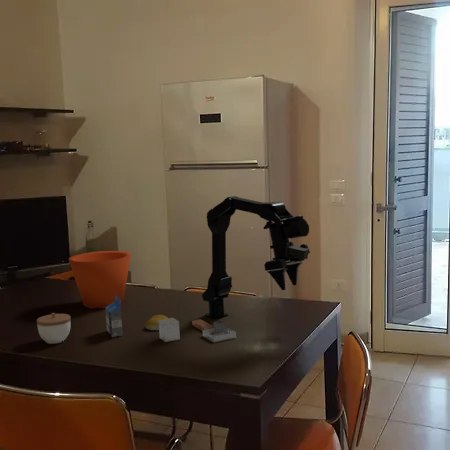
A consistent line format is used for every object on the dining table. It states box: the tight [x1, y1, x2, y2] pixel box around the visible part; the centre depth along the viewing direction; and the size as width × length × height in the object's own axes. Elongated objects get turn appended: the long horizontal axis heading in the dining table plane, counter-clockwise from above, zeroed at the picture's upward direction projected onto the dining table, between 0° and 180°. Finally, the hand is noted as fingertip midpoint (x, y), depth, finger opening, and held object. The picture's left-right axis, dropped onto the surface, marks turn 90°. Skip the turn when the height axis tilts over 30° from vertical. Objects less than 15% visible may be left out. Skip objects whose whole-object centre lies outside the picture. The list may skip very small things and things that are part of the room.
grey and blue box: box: [104, 295, 124, 338], centre depth 198 cm, size 9×4×12 cm, turn 23°
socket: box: [158, 317, 181, 343], centre depth 190 cm, size 5×5×6 cm
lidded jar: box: [36, 312, 72, 345], centre depth 193 cm, size 11×11×9 cm
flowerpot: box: [68, 250, 132, 309], centre depth 239 cm, size 25×25×20 cm
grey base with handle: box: [191, 318, 237, 343], centre depth 195 cm, size 21×8×5 cm, turn 29°
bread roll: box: [144, 314, 169, 331], centre depth 204 cm, size 8×9×4 cm
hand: (289, 287), depth 191 cm, fingers open, 9 cm apart
